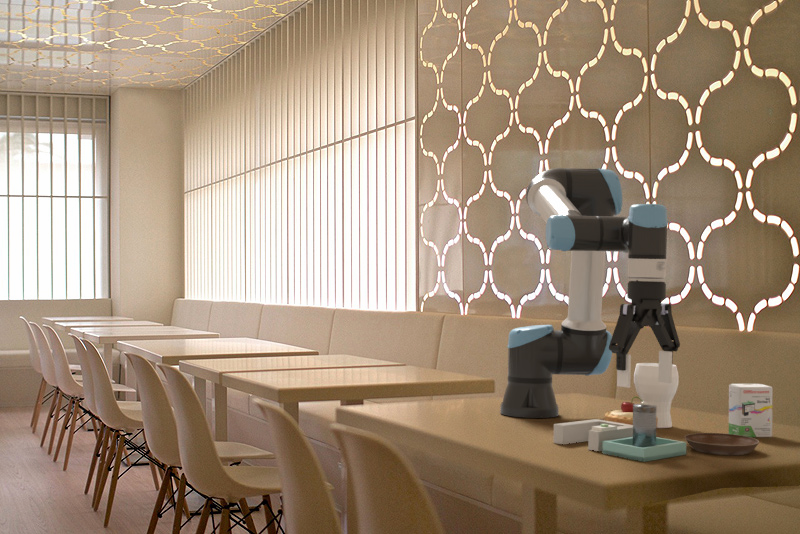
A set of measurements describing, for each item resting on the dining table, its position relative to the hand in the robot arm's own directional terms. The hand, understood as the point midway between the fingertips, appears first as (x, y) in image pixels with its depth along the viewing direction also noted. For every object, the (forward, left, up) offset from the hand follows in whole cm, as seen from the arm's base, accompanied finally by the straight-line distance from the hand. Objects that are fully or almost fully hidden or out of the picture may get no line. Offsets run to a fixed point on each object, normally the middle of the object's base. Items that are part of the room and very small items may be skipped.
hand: (644, 384), depth 182 cm
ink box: (-1, +41, -14) cm, 43 cm away
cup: (-22, +34, -14) cm, 43 cm away
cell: (0, 0, -13) cm, 13 cm away
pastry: (-17, +17, -14) cm, 28 cm away
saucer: (+6, +18, -15) cm, 24 cm away
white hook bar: (-13, 0, -14) cm, 19 cm away
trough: (0, 0, -14) cm, 14 cm away
